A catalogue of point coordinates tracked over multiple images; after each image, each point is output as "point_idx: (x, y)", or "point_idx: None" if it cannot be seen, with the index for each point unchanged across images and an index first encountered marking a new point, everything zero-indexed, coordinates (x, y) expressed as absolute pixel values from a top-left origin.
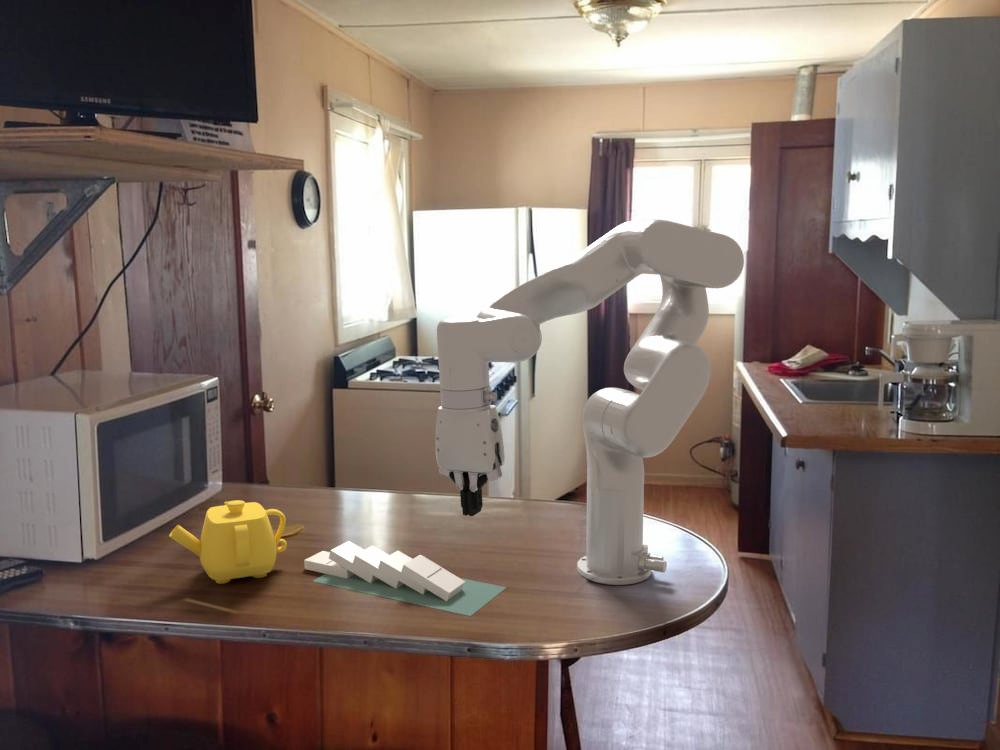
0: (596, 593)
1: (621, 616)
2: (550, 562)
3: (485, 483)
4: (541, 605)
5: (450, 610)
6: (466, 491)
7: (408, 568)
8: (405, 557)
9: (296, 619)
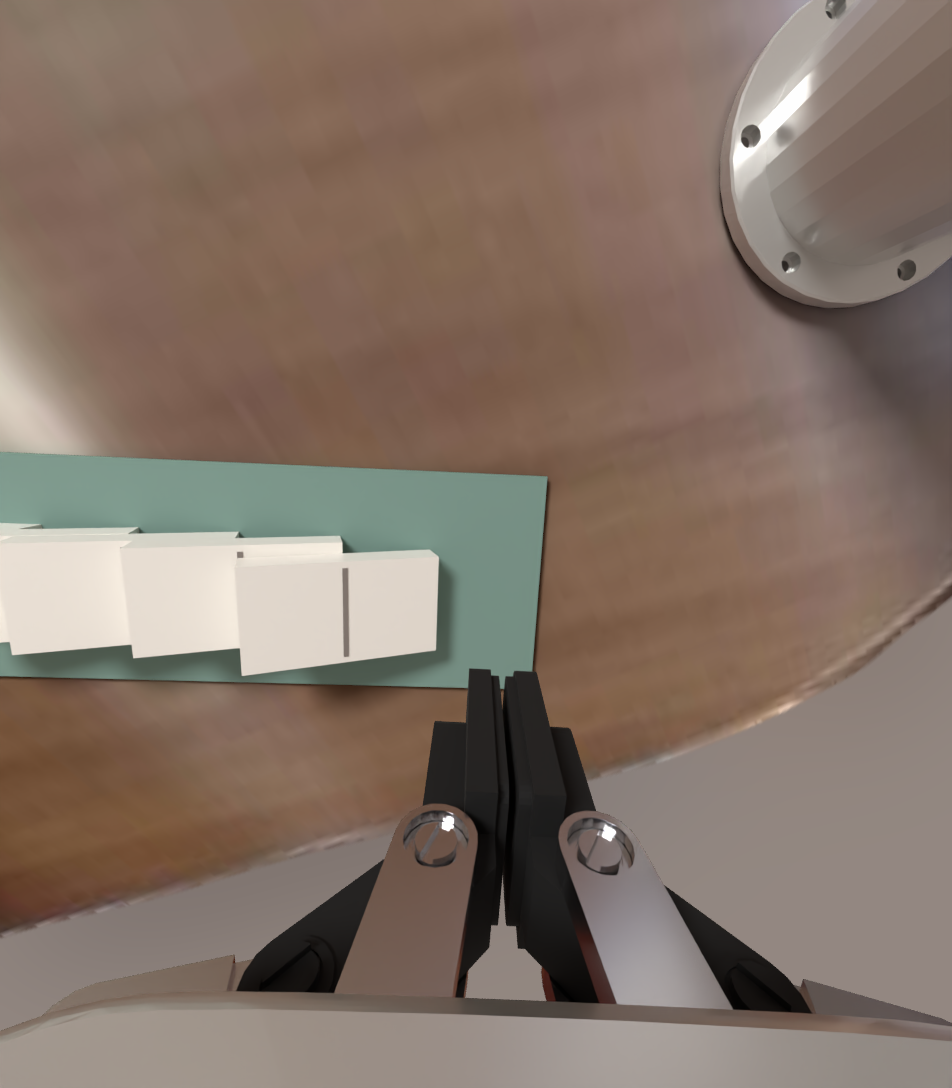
0: (817, 386)
1: (907, 513)
2: (604, 166)
3: (677, 905)
4: (679, 536)
5: (466, 682)
6: (494, 918)
7: (267, 671)
8: (179, 563)
9: (137, 851)
